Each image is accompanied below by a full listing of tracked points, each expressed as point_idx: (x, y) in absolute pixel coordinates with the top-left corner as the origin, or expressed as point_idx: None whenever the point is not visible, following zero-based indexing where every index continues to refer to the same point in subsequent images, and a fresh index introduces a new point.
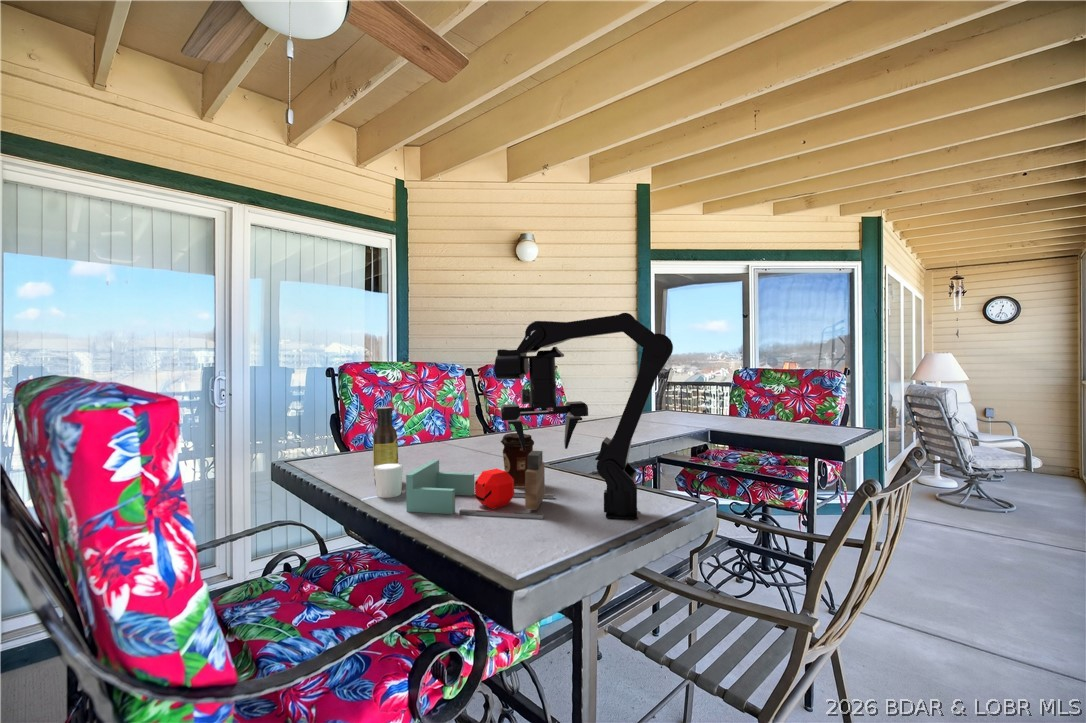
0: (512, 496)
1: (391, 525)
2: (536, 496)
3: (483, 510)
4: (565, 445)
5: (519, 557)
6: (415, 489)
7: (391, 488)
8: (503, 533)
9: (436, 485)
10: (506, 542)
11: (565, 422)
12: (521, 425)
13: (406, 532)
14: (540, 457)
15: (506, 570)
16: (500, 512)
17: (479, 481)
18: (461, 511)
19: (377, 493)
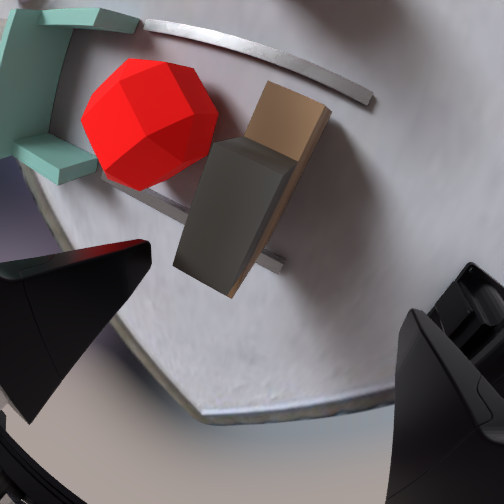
0: (206, 153)
1: (39, 206)
2: (260, 252)
3: (143, 190)
4: (397, 354)
5: (207, 385)
6: (15, 157)
7: None
8: (187, 308)
9: (57, 29)
10: (191, 342)
11: (488, 446)
12: (41, 403)
13: (59, 242)
14: (259, 231)
15: (191, 398)
16: (178, 218)
17: (92, 147)
18: (105, 181)
19: None
